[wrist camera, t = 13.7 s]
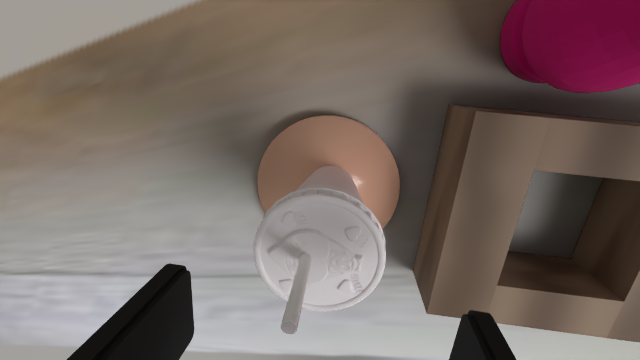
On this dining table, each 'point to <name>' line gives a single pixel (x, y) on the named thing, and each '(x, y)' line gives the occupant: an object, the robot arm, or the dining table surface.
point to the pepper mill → (574, 43)
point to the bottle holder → (503, 213)
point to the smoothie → (320, 246)
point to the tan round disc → (331, 162)
